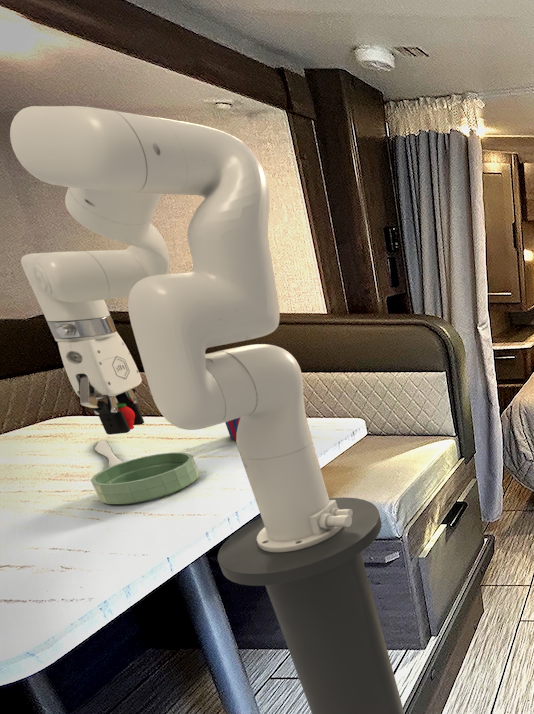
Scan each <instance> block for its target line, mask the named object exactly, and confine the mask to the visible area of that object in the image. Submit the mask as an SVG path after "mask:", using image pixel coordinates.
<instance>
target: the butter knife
mask: <svg viewBox="0 0 534 714" xmlns="http://www.w3.org/2000/svg"><path fill="white" fill-rule="evenodd" d="M94 450H95V451H96V452H97V453H98V454H100V455H102V456H104V457H106V459H107V460H108V468H109V467H111V466H114V465H116V464H120V463H123V462H124V461H122V460H121V459H119V458H118V457H117V456H116V454H114V451H113V450H112V448H111V446H110V445H109V443H108V442H107V439H102V440H99V441H98V443H97V444H96V445H95V447H94Z"/></svg>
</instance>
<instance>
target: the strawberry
mask: <svg viewBox="0 0 534 714" xmlns="http://www.w3.org/2000/svg"><path fill="white" fill-rule="evenodd" d="M117 407H118V411H122V412H123V414H124V417H125V419H126V422H127V424H128V426H129V429H130V431H131V430H133V429H135V425H133V424H134V419H135V413H134V411H133V410H132V409H131V408H129V407H127V406H126V404H125V403H120V404H117Z"/></svg>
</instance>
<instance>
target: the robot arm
mask: <svg viewBox="0 0 534 714" xmlns="http://www.w3.org/2000/svg"><path fill="white" fill-rule="evenodd" d="M9 138H10V144H11V147H12V150H13V152H14V155H15V157H16V159H17V160H18V162H19V164H21V166H22V168H24V169H25V171H27V173H29V174H30V175H32V176H33V177H34V178H36V179H37V180H39V181H41V182H44V183H46V184H49V185H53V186H58V187H65V188H67V191H66V194H65V198H64V204H65V208H66V210H67V211H68V213H69V214H70V216H71V218H73V219H74V220H75V221H76V222H77V223H78V224H80V225H81V226H82V227H84V228H86V229H87V230H89V231H90V232H93V233H94V234H96V235H99V236H101V237H103V238H107V239H110V240H112V241H116V242H119V243H122V244H126V245H128V247H127V248H126V249H102V250H75V251H74V250H73V251H71V250H70V251H52V252H33V253H27V254H25V255H23V256H22V257H21V259H20V264H21V267H22V269H23V271H24V275H25V276H26V278H27V280H28V283H29V285H30V287H31V289H32V291H33V294H34V296H35V299H36V301H37V303H38V305H39V307H40V309H41V311H42V313H43V316H44V318H45V320H46V322H47V325H48V327H49V329H50V332H51V334H52V336H53V338H54V341H55V342H57V346H58V350H59V354H60V357H61V361H62V364H63V367H64V371H65V373H66V375H67V377H68V381H69V382H70V385H71V387H72V388H73V392H75V394H76V395H77V396H78V397H79V403H80V405H81V406H83V407H86V408H89V409H90V410H92V411H93V412H94V414H95V415H97V416H98V419H99V420H100V422H101V424H102V427H103V429H104V431H105V434H106V435H109V436H110V435H111V436H112V435H120V434H128V433H130V432H131V430H130V429H129V426H128V424H127V422H126V419H125V417H124V414H123V412H122V411H118V407H117V404H120V403H125V404H126V406H127V407H129V408H131V409H132V410H133V411H134V413H135V419H134V424H133V426H140V425H143V424H145V420H144V418H143V417H144V416H143V415H142V412H141V410H140V408H139V406H138V398H137V396H136V388H137V387H138V386H139V385H140V384H141V383H142V381H143V378H142V376H141V373H140V371H139V369H138V367H137V364H136V362H135V360H134V358H133V356H132V354H131V352H130V350H129V349H128V347H127V345H126V343H125V342H124V340H123V339H122V337H121V336H120V334H119V333H118V331H117V329H116V326H115V323H114V320H113V318H112V316H111V313H110V311H109V309H108V306H107V304H106V301H105V300H112V299H123V298H124V299H125V298H128V299H127V310H128V316H129V321H130V325H131V329H132V332H133V336H134V339H135V343H136V346H137V350H138V353H139V356H140V360H141V363H142V367H143V371H144V374H145V377H146V381H147V384H148V388H149V391H150V394H151V397H152V399H153V402H154V404H155V406H156V408H157V410H158V411H159V413H160V414H161V415H162V417H163V418H164V419H165V420H166V421H167V422H168V423H169V424H170V425H172V426H174V427H176V428H178V429H182V430H186V431H194V430H203V429H207V428H210V427H213V426H214V427H215V426H217V425H221V424H225V422H227V421H230V420H233V419H237V418H240V417H241V418H240V421H239V424H238V428H237V434H236V440H235V442H236V447H237V451H238V453H239V456H240V459H241V462H242V466H243V467H244V471H245V474H246V476H247V479H248V482H249V486H250V488H251V492H252V494H253V497H254V500H255V503H256V505H257V508H258V511H259V514H260V518H261V517H262V520H263V523H264V526H265V527H264V528H263V529H262V530H261V531H260V532H259V534H258V536H257V543H258V546H259V547H260V548H261V549H263V550H264V551H268V552H277V553H278V552H290V551H296V550H300V549H304V548H307V547H310V546H313V545H316V544H318V543H321V542H323V541H325V540H327V539H328V538H330V537H332V536H333V535H335V534H336V533H337V532H339V531H340V530H341V529H342V527H349V526H350V525H351V524H352V517H351V516H352V515H353V511H352V510H351V509H343V510H340V509H339V508H338V507H337V503H336V500H329V498H330V497H329V494H328V490H327V487H326V483H325V480H324V476H323V472H322V468H321V466H320V462H319V458H318V455H317V452H316V448H315V444H314V441H313V437H312V433H311V429H310V426H309V423H308V418H307V414H306V413H307V412H306V407H305V397H304V379H303V373H302V370H301V367H300V365H299V363H298V361H297V359H296V358H295V356H293V355H292V354H291V353H290V352H289V351H287V349H285V348H283V347H280V346H277V345H275V344H267V343H260V344H259V343H258V344H257V343H255V344H247V345H242V346H237V347H231V348H226V349H222V350H221V349H220V350H217V351H213V352H209V353H206V350H207V349H209V348H214V347H219V346H223V345H229V344H235V343H239V342H240V343H241V342H245V341H249V340H254V339H259V338H262V337H265V336H268V335H270V334H273V332H275V331H276V330H277V329H278V327H279V324H280V316H281V315H280V305H279V297H278V292H277V291H278V290H277V285H276V284H277V283H276V278H275V272H274V265H273V259H272V253H271V250H270V249H271V248H270V241H269V219H270V218H269V217H270V191H269V190H270V189H269V184H268V179H267V176H266V173H265V171H264V168H263V166H262V165H261V163H260V161H259V159H258V157H257V156H256V154H255V153H254V152H253V151H252V149H251V148H250V147H249V146H248V145H247V144H246V143H245V142H243V141H242V140H241V139H239V138H238V137H236V136H234V135H233V134H230V133H228V132H226V131H223V130H220V129H217V128H213V127H210V126H205V125H202V124H197V123H192V122H188V121H181V120H175V119H170V118H163V117H157V116H148V115H142V114H136V113H130V112H124V111H119V110H112V109H107V108H106V109H105V108H99V107H94V106H93V107H92V106H83V105H31V106H27V107H24V108H22V109H21V110H19V111H18V112H17V113H16V115H14V117H13V119H12V121H11V124H10V128H9ZM163 195H177V196H178V195H181V196H182V195H184V196H199V197H202V198H204V199H203V201H201V203H200V204H199V205H198V207H197V208H196V210H195V211H194V213H193V215H192V217H191V219H190V222H189V224H188V227H187V243H188V247H189V251H190V256H191V260H192V261H191V262H192V267H191V270H190V271H189V272H175V273H168V272H169V271H170V270H169V269H170V266H171V261H170V260H171V259H170V253H169V249H168V246H167V244H166V241H165V239H164V238H163V236H162V234H161V233H160V231H159V230H158V229H157V228H156V226H154V224H152V221H153V218H154V215H155V213H156V211H157V208H158V205H159V203H160V201H161V198H162V197H163ZM104 400H106V402H105V401H104Z"/></svg>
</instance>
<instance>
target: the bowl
mask: <svg viewBox="0 0 534 714" xmlns="http://www.w3.org/2000/svg"><path fill="white" fill-rule="evenodd" d="M122 462H123V463H120V464H116V465H114V466H111V467H109V466H108V467H107V468H104V469H102V470H100V471H99V472H98V473H95V474H94V475H93V476H92V477H91V478H90V482H91V485H92V486H93V489H94V491H95V493H96V495H97V497H98V499H99V500H100V502H101V503H104V504H107V505H132V504H138V503H143V502H149V501H152V500H157V499H160V498H163V497H166V496H169V495H172V494H174V493H177V492H179V491H181V490H183V489H184V488H186V487H188V486H190V485H191V484H193V483H194V482H195V481H197V480H198V479H199V476H200V472H199V469H198V466H197V464H196V461H195V459H194V456H193V455H192V454H191V453H187V452H164V453H163V452H162V453H157V454H150V455H146V456H145V455H144V456H141V457H137V458H133V459H130V460H126V461H122Z"/></svg>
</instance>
